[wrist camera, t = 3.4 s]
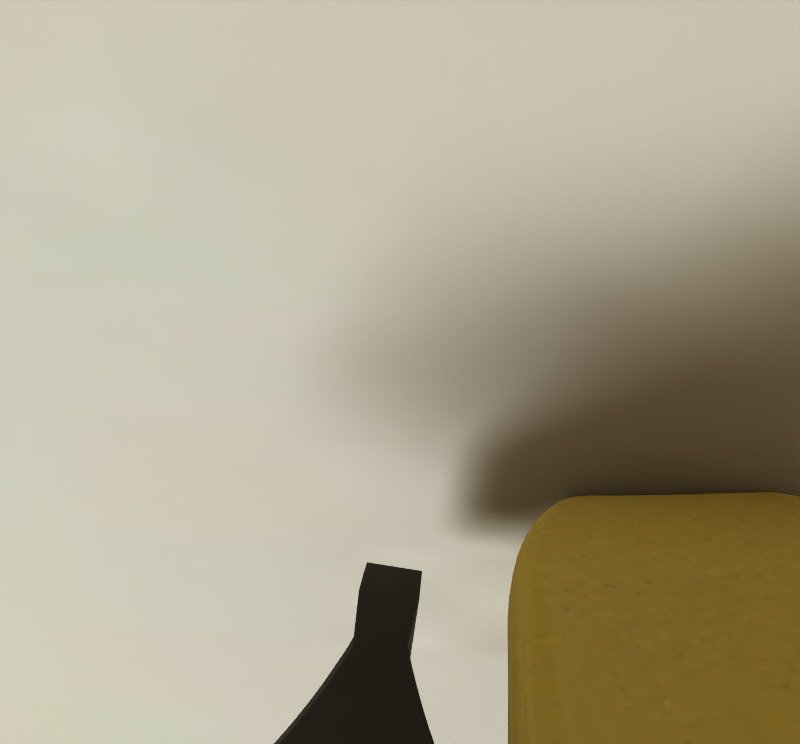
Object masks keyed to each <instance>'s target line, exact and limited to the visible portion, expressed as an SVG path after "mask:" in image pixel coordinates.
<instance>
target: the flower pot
mask: <svg viewBox="0 0 800 744" xmlns="http://www.w3.org/2000/svg"><path fill="white" fill-rule="evenodd" d="M508 744H800V496H795V495H789V494H784V493H779V492H753V493H712V494H692V495H626V496H576V497H570V498H566V499H563V500H560V501H559V502H557V503H556V504H554V505H552V506H551V507H550V508H549V509H547V510H546V511H545V512H544V513H543V514H542V515H541V516H540V517H539V518H538V520H537V521H536V522H535V523H534V525H533V526H532V527H531V529H530V531H529V532H528V534H527V535H526V537H525V539H524V542H523V544H522V546H521V548H520V551H519V554H518V556H517V560H516V564H515V568H514V573H513V577H512V583H511V590H510V596H509V609H508Z"/></svg>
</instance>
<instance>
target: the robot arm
mask: <svg viewBox="0 0 800 744" xmlns="http://www.w3.org/2000/svg"><path fill="white" fill-rule="evenodd" d="M421 576H422V571H418V570H411V569H405V568H399V567H393V566H386V565H380V564H374V563H367V564H366V568H365V571H364V574H363V578H362V581H361V585H360V589H359V596H358V605H357V614H356V623H355V632H354V637H353V639H352V641H351V642H350V644H349V646H348V647H347V649H346V651H345V652H344V654H343V655H342V657H341V658H340V659H339V661H338V662H337V664H336V665H335V667H334V668H333V670H332V671H331V673H330V674H329V676H328V677H327V678H326V680H325V681H324V683H323V684H322V686H321V687H320V688H319V690H318V691H317V692H316V694H315V695H314V696H313V698H312V699H311V700H310V701H309V703H308V704H307V705H306V707H305V708H304V709H303V710H302V712H301V713H300V714H299V715H298V716H297V718H296V719H295V720H294V721H293V723H292V724H291V725H290V726H289V727H288V728H287V730H286V731H285V732H284V733H283V734H282V735H281V736H280V738H279V739H278V740H277V741H276V742H275V743H274V744H434V742H433V739H432V736H431V733H430V730H429V727H428V724H427V720H426V717H425V714H424V711H423V707H422V704H421V700H420V696H419V693H418V689H417V685H416V681H415V677H414V673H413V669H412V665H411V660H410V655H411V649H412V642H413V636H414V629H415V623H416V616H417V610H418V603H419V595H420V586H421Z"/></svg>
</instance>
